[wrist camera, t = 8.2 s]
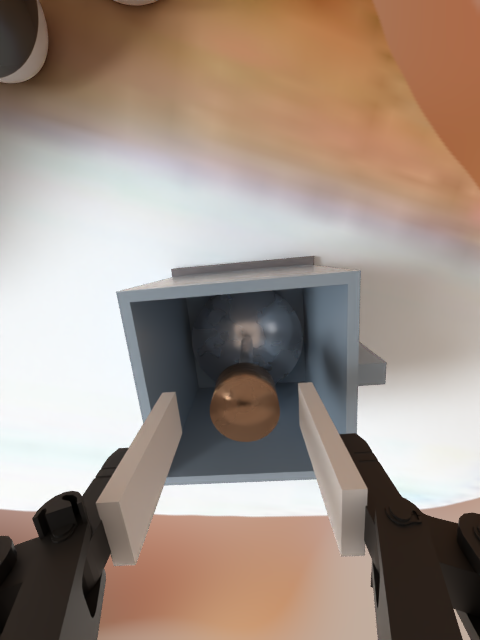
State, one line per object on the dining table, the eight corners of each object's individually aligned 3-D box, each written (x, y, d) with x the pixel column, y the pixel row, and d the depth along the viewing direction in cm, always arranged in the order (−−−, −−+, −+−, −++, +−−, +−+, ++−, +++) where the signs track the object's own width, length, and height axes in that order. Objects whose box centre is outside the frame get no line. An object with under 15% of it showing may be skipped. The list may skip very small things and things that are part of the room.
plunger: (200, 390, 29) (161, 497, 16) (186, 290, 26) (125, 321, 13) (302, 384, 28) (347, 490, 15) (299, 280, 25) (349, 303, 13)
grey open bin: (191, 392, 33) (147, 494, 19) (173, 268, 29) (100, 279, 15) (327, 383, 32) (389, 485, 18) (326, 254, 28) (404, 252, 14)
